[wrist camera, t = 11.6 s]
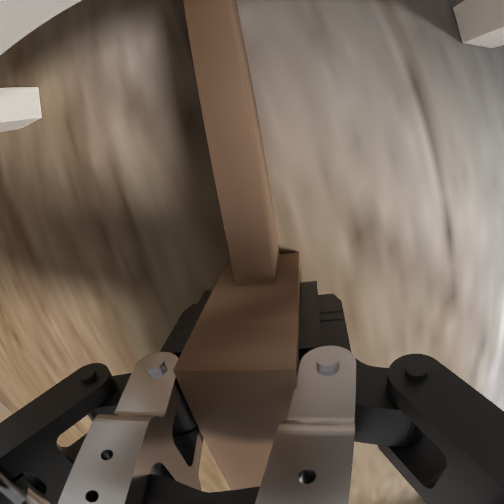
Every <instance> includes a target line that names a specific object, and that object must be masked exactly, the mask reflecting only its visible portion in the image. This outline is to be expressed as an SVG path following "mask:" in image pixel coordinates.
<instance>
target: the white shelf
mask: <svg viewBox="0 0 504 504" xmlns="http://www.w3.org/2000/svg"><path fill="white" fill-rule="evenodd" d="M80 1H82V0H0V55H1V54H3V53H4V52H5V51H6V50H8V49H9V48H10V47H11V46H13V45H14V44H15V43H17V42H18V41H19V40H21V39H22V38H23V37H25V36H26V35H27V34H29V33H30V32H32V31H33V30H35V29H36V28H37V27H39V26H40V25H42V24H43V23H45V22H46V21H48V20H50V19H51V18H53V17H54V16H56V15H58V14H59V13H61V12H62V11H64V10H66V9H67V8H69V7H71V6H73V5H74V4H76V3H78V2H80ZM453 10H454V14H455V17H456V21H457V24H458V28H459V32H460V36H461V40H462V43H464V44H470V45H476V46H482V47H487V48H496V47H499V46H503V45H504V0H464V1H463V2H461V3H460V4H458V5H457V6H455V7H454V8H453ZM41 118H42V113H41V106H40V97H39V87H12V88H0V132H4V131H10V130H16V129H22V128H24V127H26V126H28V125H30V124H31V123H33V122H35V121H37V120H39V119H41Z"/></svg>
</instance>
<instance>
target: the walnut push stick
mask: <svg viewBox="0 0 504 504" xmlns="http://www.w3.org/2000/svg"><path fill="white" fill-rule="evenodd" d="M183 3H184V9H185V15H186V22H187V28H188V34H189V40H190V46H191V52H192V58H193V64H194V70H195V76H196V81H197V87H198V93H199V99H200V104H201V110H202V115H203V121H204V126H205V132H206V137H207V143H208V148H209V153H210V159H211V164H212V169H213V174H214V180H215V185H216V190H217V195H218V200H219V205H220V210H221V215H222V220H223V225H224V230H225V235H226V240H227V245H228V250H229V255H230V259H229V260H228V262H227V264H226V266H225V268H224V270H223V271H222V273H221V275H220V277H219V279H218V281H217V283H216V285H215V287H214V289H213V291H212V293H211V295H210V297H209V299H208V301H207V303H206V305H205V307H204V309H203V311H202V313H201V315H200V317H199V319H198V321H197V323H196V325H195V327H194V329H193V331H192V333H191V335H190V337H189V339H188V341H187V343H186V345H185V347H184V349H183V351H182V353H181V355H180V357H179V359H178V361H177V363H176V365H175V367H174V369H173V371H174V374H175V376H176V378H177V381H178V383H179V385H180V388H181V390H182V392H183V395H184V397H185V399H186V401H187V404H188V406H189V408H190V410H191V412H192V415H193V417H194V419H195V421H196V423H197V425H198V427H199V429H200V431H201V433H202V435H203V437H204V439H205V442H206V444H207V445H208V447H209V449H210V451H211V453H212V455H213V457H214V459H215V461H216V463H217V465H218V467H219V469H220V470H221V472H222V474H223V476H224V478H225V480H226V481H227V483H228V485H229V487H230V488H231V490H238V489H245V488H251V487H260V485H261V482H262V479H263V476H264V472H265V469H266V466H267V462H268V459H269V456H270V452H271V449H272V445H273V442H274V438H275V435H276V431H277V428H278V426H279V424H280V422H281V421H286V420H287V417H288V413H289V409H290V405H291V401H292V396H293V392H294V388H295V383H296V379H297V374H298V370H299V365H300V360H299V351H298V342H299V305H300V282H302V275H301V266H300V258H299V252H297V253H287V254H279V247H278V240H277V233H276V227H275V220H274V214H273V207H272V201H271V194H270V188H269V182H268V175H267V169H266V163H265V157H264V151H263V145H262V139H261V133H260V127H259V121H258V115H257V110H256V104H255V98H254V93H253V87H252V82H251V76H250V71H249V65H248V60H247V55H246V49H245V44H244V39H243V34H242V29H241V24H240V18H239V13H238V8H237V4H236V0H183Z"/></svg>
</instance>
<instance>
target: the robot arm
mask: <svg viewBox="0 0 504 504" xmlns="http://www.w3.org/2000/svg"><path fill="white" fill-rule="evenodd" d="M212 291H213V290H206V291H205V292H204V294H203V295H202V297H201V299H200V301H199V303H198V304H194V305H191V306H190V307H189V308H188V309H187V310H185V311H184V312H183V313H182V315H181V316H180V318H179V320H178V323H176V325H175V327H174V330H173V331H172V332H171V334H170V335H169V337H168V339H167V341H166V342H165V344H164V346H163V348H162V349H161V351H160V352H157V353H153V354H150V355H148V356H146V357H144V358H142V359H141V360H140V361H139V362H138V363H137V364H136V365H135V367H134V369H133V371H132V373H129V374H123V375H117V376H112V375H111V373H110V371H109V369H108V367H107V366H106V365H104V364H101V363H93V364H88V365H86V366H83V367H81V368H80V369H78V370H77V371H75V372H74V373H72V374H71V375H69V376H68V377H67V378H65V379H64V380H62V381H61V382H59V383H58V384H56V385H55V386H53V387H52V388H51V389H49V390H48V391H46V392H45V393H43V394H42V395H40V396H39V397H37V398H36V399H34V400H33V401H32V402H30V403H29V404H27V405H26V406H24V407H23V408H21V409H20V410H18V411H17V412H15V413H14V414H13V415H11V416H10V417H9V418H7V419H5V420H4V421H3V422H1V423H0V504H348V500H349V492H350V483H351V473H352V462H353V450H354V441H356V442H362V443H369V444H376V445H378V447H379V449H380V450H381V451H382V453H383V454H384V455H385V456H386V457H387V458H388V460H389V461H390V462H391V463H392V464H393V465H394V466H395V468H396V469H397V470H398V471H399V472H400V473H401V474H402V476H403V477H404V478H405V479H406V480H407V481H408V482H409V484H410V485H411V486H412V487H413V488H414V489H415V490H416V491H417V493H418V494H419V495H420V496H421V497H422V498H423V499H424V500H425V502H426V503H427V504H504V411H502V410H501V409H500V408H498V407H497V406H496V405H495V404H493V403H492V402H491V401H489V400H488V399H487V398H485V397H484V396H483V395H482V394H480V393H479V392H478V391H476V390H475V389H474V388H472V387H471V386H470V385H469V384H467V383H466V382H465V381H463V380H462V379H461V378H459V377H458V376H457V375H455V374H454V373H453V372H451V371H450V370H449V369H447V368H446V367H445V366H443V365H442V364H441V363H439V362H438V361H437V360H435V359H434V358H432V357H430V356H427V355H423V354H409V355H405V356H402V357H400V358H398V359H396V360H395V361H394V362H393V363H392V364H391V365H390V367H389V368H381V367H373V366H369V365H366V364H364V363H362V362H360V361H358V360H357V359H356V358H355V356H354V355H353V354H352V352H351V349H350V344H349V338H348V333H347V328H346V322H345V317H344V312H343V308H342V303H341V300H340V299H338V298H337V297H336V296H335V295H334V294H325V295H318V291H317V281H310V282H300V305H299V342H298V351H299V360H300V365H299V370H298V374H297V379H296V383H295V388H294V392H293V396H292V401H291V405H290V409H289V413H288V417H287V420H286V421H281V422H280V424H279V426H278V428H277V431H276V435H275V438H274V442H273V445H272V449H271V452H270V456H269V459H268V462H267V466H266V469H265V472H264V476H263V479H262V482H261V485H260V487H251V488H245V489H238V490H230V491H222V492H213V493H207V492H203V491H201V485H200V481H199V474H198V473H199V464H200V457H201V450H202V444H203V435H202V433H201V431H200V429H199V427H198V425H197V423H196V421H195V419H194V417H193V415H192V412H191V410H190V408H189V406H188V404H187V401H186V399H185V397H184V395H183V392H182V390H181V388H180V385H179V383H178V381H177V378H176V376H175V374H174V371H173V369H174V367H175V365H176V363H177V361H178V359H179V357H180V355H181V353H182V351H183V349H184V347H185V345H186V343H187V341H188V339H189V337H190V335H191V333H192V331H193V329H194V327H195V325H196V323H197V321H198V319H199V317H200V315H201V313H202V311H203V309H204V307H205V305H206V303H207V301H208V299H209V297H210V295H211V293H212ZM86 415H88V416H89V417H90V419H91V420H92V424H91V426H90V429H89V431H88V433H87V434H85V435H84V436H83V437H81V438H80V439H79V440H77V441H76V442H75V443H73V444H72V445H71V446H69V447H61V446H59V445H58V444H57V443H56V442H57V438H58V437H59V435H61V434H62V433H63V432H65V431H66V430H67V429H69V428H70V427H71V426H73V425H74V424H75V423H77V422H78V421H79V420H81V419H82V418H83V417H85V416H86Z"/></svg>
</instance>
